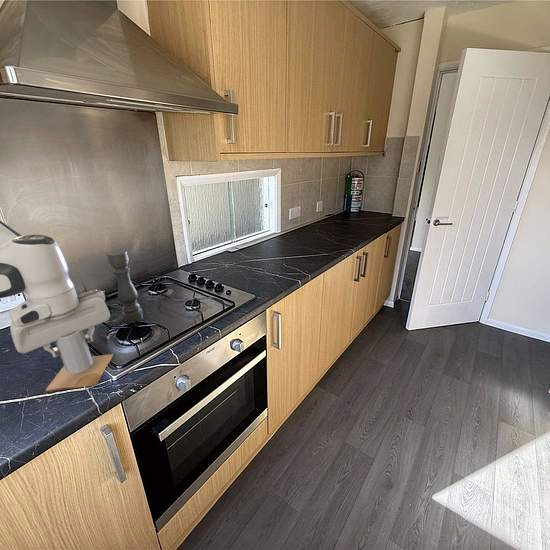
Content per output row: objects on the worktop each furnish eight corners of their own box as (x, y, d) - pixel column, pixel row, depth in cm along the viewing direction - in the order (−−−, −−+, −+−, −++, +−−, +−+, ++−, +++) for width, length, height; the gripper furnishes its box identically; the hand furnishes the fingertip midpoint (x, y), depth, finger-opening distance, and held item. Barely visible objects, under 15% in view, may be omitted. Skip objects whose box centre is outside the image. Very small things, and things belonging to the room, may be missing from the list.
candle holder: (120, 323, 101) (101, 255, 91) (131, 314, 107) (114, 249, 97) (136, 324, 100) (119, 255, 90) (146, 315, 106) (131, 249, 96)
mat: (45, 391, 73) (45, 390, 73) (69, 360, 84) (69, 358, 84) (96, 385, 74) (96, 383, 74) (113, 355, 85) (113, 353, 85)
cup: (61, 375, 75) (47, 339, 71) (73, 359, 81) (60, 325, 76) (87, 372, 76) (74, 336, 72) (96, 356, 82) (85, 323, 77)
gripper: (97, 283, 80) (110, 326, 85) (-1, 314, 66) (22, 363, 71) (106, 290, 76) (119, 334, 81) (4, 323, 62) (28, 375, 67)
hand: (73, 348), depth 76 cm, fingers closed on cup, 6 cm apart
